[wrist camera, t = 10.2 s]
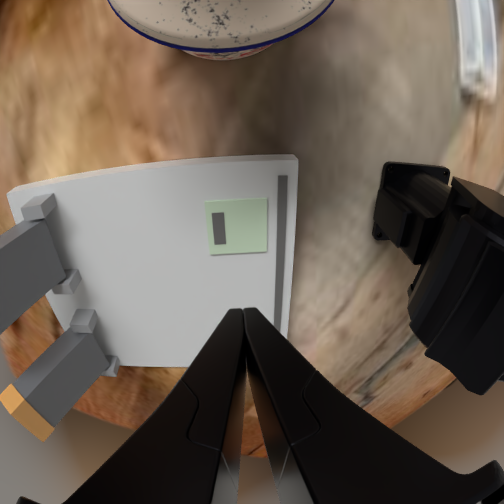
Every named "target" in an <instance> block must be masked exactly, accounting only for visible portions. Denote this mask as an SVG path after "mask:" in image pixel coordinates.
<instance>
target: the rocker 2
mask: <svg viewBox="0 0 504 504" xmlns="http://www.w3.org/2000/svg"><path fill="white" fill-rule="evenodd" d="M109 365H110V364H109V363H108V361H107V359H106V358H105V356H104V354H103V352H102V350H101V349H100V347H99V345H98V343H97V341H96V339H95V337H94V335H93V334H92V333H76V332H73V330H72V328H71V327H69V328H68V329H67V330H66V331H65V332H64V333H63V334H62V335H61V336H60V337H59V338H58V339H57V340H56V341H55V342H54V343H53V344H52V345H51V346H50V347H49V348H48V349H47V350H46V351H45V352H44V353H42V354H41V355H40V356H39V357H38V358H37V359H36V360H35V361H34V362H33V363H32V364H31V365H30V367H29V368H28V369H27V370H26V371H25V372H24V373H23V374H22V375H21V376H20V377H19V378H18V379H17V380H16V381H15V382H14V383H13V384H10V385H9V386H8V387H7V388H6V389H5V390H4V391H3V392H2V393H1V395H0V401H1V402H2V404H3V405H4V406H5V408H6V409H7V410H8V412H9V413H10V414H11V415H12V416H13V417H14V418H15V419H16V420H17V421H18V422H20V423H21V424H22V425H23V426H24V427H25V428H26V429H28V430H29V431H30V432H31V433H32V434H34V435H35V436H36V437H37V438H39V439H40V440H41V441H42V442H44V441H45V440H46V439H47V438H48V436H49V435H50V434H51V433H52V432H53V431H54V429H55V428H54V427H55V426H56V425H57V424H58V422H59V421H60V420H61V419H62V418H63V417H64V415H65V414H66V413H67V412H68V411H69V410H70V409H71V408H72V406H73V405H74V404H75V403H76V402H77V401H78V400H79V398H80V397H81V396H82V395H83V394H84V393H85V392H86V391H87V389H88V388H89V387H90V386H91V385H92V384H93V383H94V382H95V381H96V379H97V378H98V377H99V376H100V375H101V374H102V373H103V372H104V371H105V369H106V368H107V367H108V366H109Z"/></svg>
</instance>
